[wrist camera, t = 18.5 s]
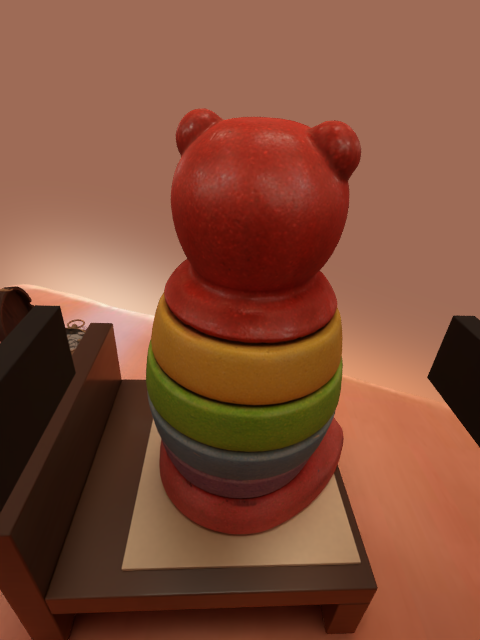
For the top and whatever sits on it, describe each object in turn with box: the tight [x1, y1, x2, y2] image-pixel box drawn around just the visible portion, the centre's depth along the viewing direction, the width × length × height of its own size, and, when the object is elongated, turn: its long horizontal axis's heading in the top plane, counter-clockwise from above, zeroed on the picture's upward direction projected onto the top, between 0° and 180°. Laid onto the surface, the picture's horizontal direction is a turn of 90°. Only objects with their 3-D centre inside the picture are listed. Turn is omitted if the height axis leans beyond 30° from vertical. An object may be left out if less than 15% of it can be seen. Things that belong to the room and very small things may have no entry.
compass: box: [0, 287, 86, 354], centre depth 36 cm, size 8×8×7 cm
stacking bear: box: [146, 109, 361, 534], centre depth 17 cm, size 11×10×18 cm
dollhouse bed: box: [0, 323, 377, 640], centre depth 21 cm, size 16×14×10 cm
